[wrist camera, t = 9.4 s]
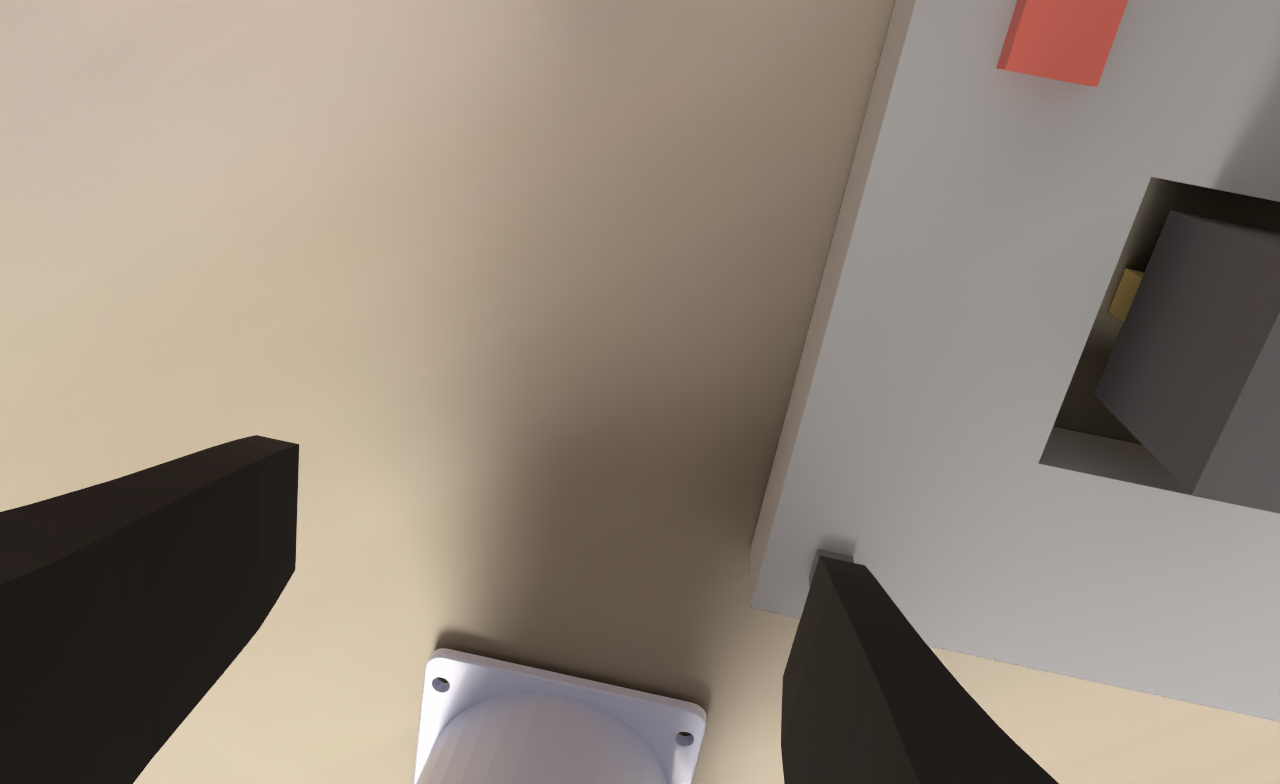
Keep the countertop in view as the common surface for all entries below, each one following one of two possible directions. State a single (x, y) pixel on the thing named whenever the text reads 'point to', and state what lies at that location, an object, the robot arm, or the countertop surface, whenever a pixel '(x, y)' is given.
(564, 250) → the countertop surface
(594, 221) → the countertop surface
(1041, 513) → the socket plate
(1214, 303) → the plug
